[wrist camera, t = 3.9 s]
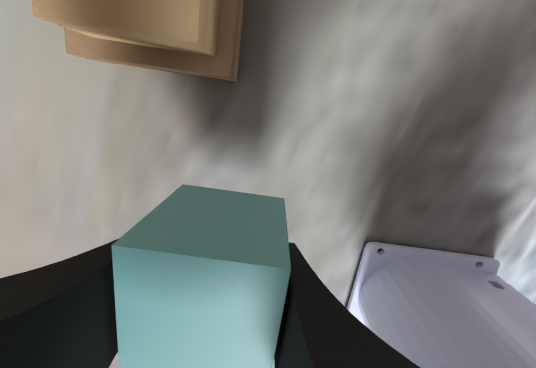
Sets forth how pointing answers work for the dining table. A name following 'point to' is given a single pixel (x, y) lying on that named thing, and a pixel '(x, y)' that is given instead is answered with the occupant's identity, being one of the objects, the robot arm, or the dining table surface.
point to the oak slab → (140, 21)
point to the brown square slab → (167, 59)
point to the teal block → (202, 281)
